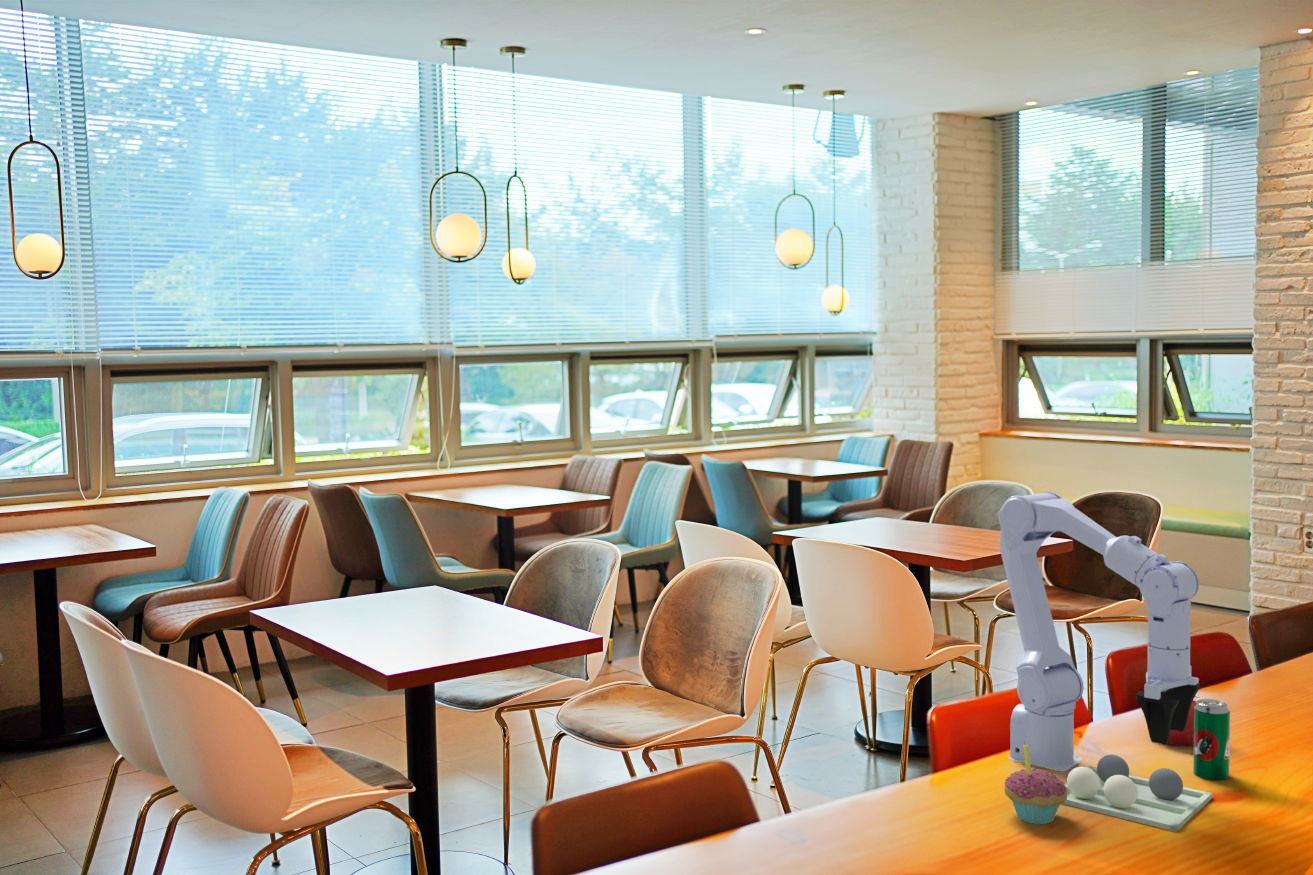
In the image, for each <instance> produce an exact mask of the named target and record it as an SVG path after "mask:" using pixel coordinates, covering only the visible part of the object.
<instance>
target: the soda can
mask: <svg viewBox="0 0 1313 875" xmlns="http://www.w3.org/2000/svg"><path fill="white" fill-rule="evenodd" d="M1196 702H1197V704H1196V706H1195V707H1194V745H1193V762H1192V763H1193V768H1192V770H1193V772H1192V773H1193V775H1194V776H1196V777H1197V778H1200V779H1202V780H1203V779H1204V780H1207V781H1212V782H1213V781H1214V782H1217V781H1218V782H1222V781H1227V780H1229V779H1230V766H1231V765H1230V762H1231V761H1230V760H1231V758H1230V752H1231V751H1230V750H1231V749H1230V748H1231V746H1230V745H1231V744H1230V743H1231V741H1230V740H1231V738H1230V737H1231V711H1230V709H1229V708H1228V703H1226V702H1225V701H1222V700H1219V699H1218V700H1217V699H1211V698H1210V699H1209V698H1205V699H1203V698H1202V699H1198V700H1196Z"/></svg>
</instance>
